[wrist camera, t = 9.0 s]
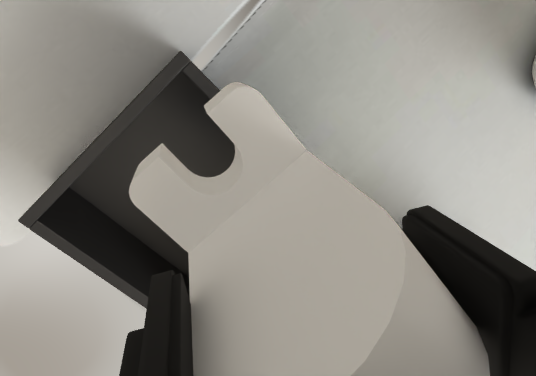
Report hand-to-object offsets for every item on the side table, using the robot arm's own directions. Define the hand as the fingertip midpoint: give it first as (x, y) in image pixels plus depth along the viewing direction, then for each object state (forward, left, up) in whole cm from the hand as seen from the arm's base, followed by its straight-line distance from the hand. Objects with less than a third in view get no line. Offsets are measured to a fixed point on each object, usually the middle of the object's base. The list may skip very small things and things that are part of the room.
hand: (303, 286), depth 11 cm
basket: (+3, -4, -24) cm, 24 cm away
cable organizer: (0, 0, -5) cm, 5 cm away
